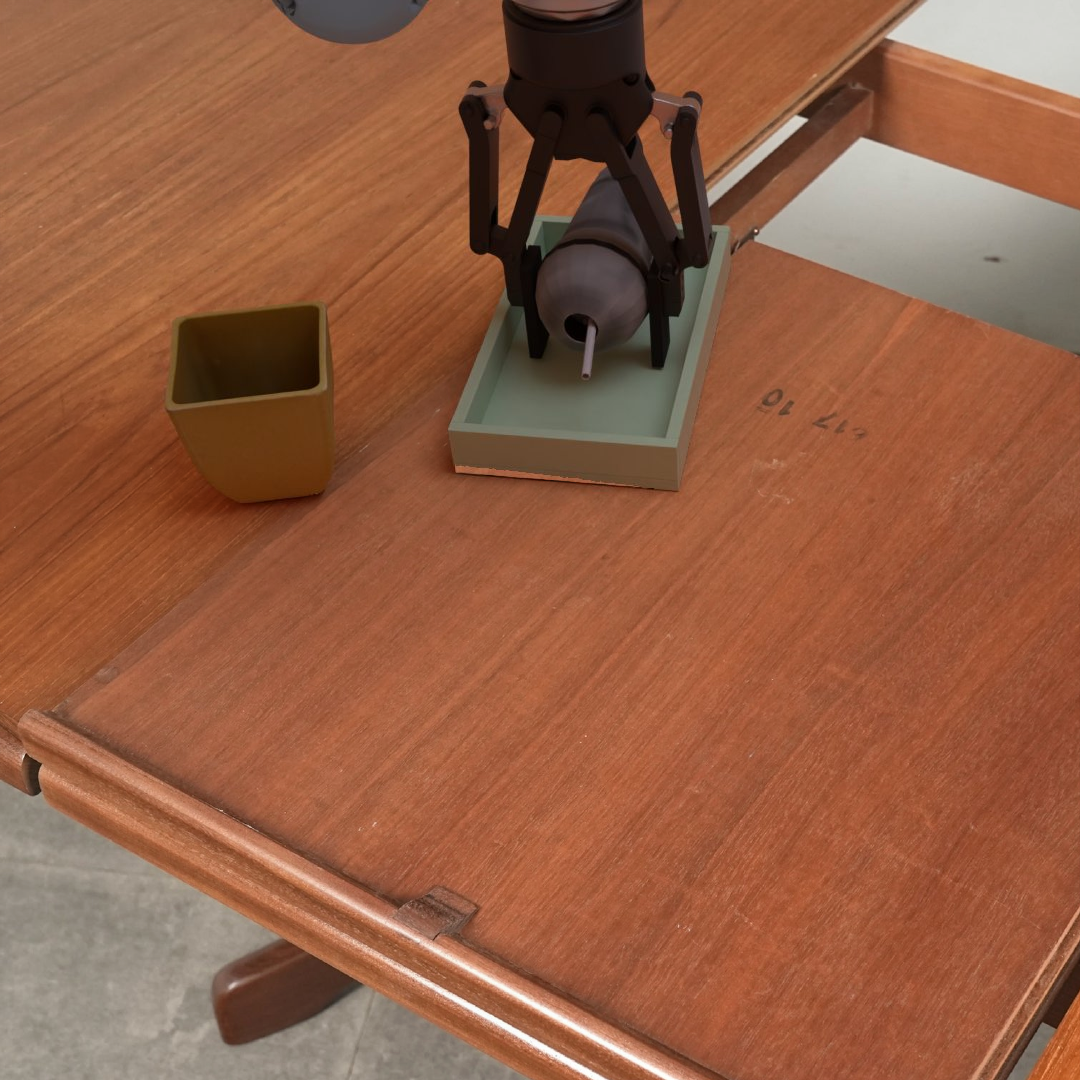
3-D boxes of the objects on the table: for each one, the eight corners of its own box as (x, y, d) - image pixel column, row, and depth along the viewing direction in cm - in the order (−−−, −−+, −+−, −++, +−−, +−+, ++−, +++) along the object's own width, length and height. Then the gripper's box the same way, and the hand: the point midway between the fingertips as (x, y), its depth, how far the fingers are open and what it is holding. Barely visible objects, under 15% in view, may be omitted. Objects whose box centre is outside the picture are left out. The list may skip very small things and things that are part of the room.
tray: (678, 491, 91) (676, 447, 89) (454, 473, 93) (447, 429, 90) (730, 268, 107) (730, 225, 104) (538, 256, 108) (533, 213, 106)
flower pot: (357, 514, 91) (326, 389, 84) (205, 533, 90) (162, 408, 83) (354, 421, 96) (325, 297, 90) (212, 438, 96) (172, 315, 89)
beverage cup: (572, 135, 100) (500, 313, 87) (683, 149, 100) (628, 329, 87) (573, 234, 106) (506, 415, 93) (678, 248, 105) (626, 431, 92)
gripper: (767, -33, 83) (763, 326, 100) (406, -48, 86) (462, 306, 103) (750, 31, 78) (748, 397, 95) (368, 13, 81) (433, 374, 98)
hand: (600, 349), depth 99 cm, fingers closed on beverage cup, 7 cm apart
